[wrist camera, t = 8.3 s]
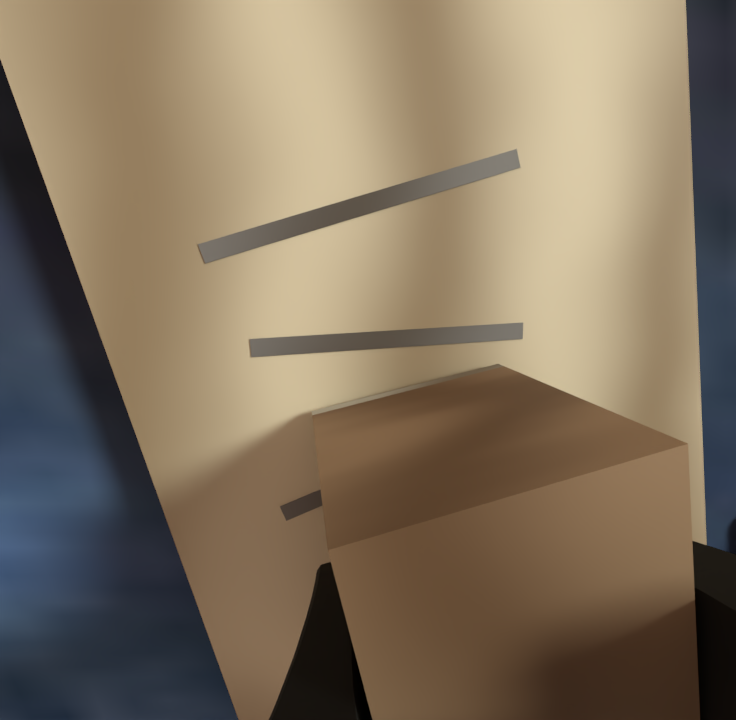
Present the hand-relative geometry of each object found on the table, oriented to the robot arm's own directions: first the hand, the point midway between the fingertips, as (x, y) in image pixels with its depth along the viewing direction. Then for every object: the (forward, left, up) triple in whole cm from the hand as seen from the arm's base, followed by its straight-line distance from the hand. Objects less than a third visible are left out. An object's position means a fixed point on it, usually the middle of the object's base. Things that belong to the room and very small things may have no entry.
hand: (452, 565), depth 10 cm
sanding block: (0, 0, -1) cm, 1 cm away
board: (-1, -2, -3) cm, 4 cm away
